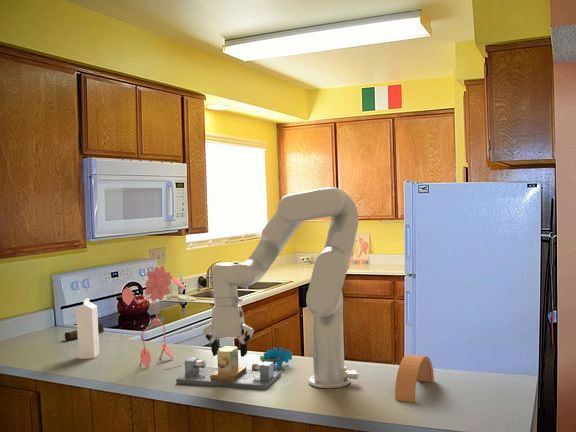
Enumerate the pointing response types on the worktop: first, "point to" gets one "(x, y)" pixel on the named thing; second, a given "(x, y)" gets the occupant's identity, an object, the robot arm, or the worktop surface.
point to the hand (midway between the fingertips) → (229, 355)
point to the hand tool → (74, 335)
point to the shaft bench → (238, 383)
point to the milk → (87, 330)
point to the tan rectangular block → (227, 360)
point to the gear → (277, 356)
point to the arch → (412, 376)
